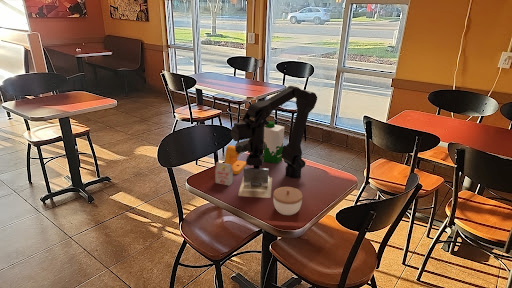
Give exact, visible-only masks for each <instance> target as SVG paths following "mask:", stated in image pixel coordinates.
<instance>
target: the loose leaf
mask: <svg viewBox="0 0 512 288" xmlns="http://www.w3.org/2000/svg"><path fill="white" fill-rule="evenodd" d="M243 176H244V182H251V183H250V186H262V183H268V176H269V168H265V167H263V168H262V167H261V168H260V167H259V168H254V167H247V166H246V167H244V169H243Z"/></svg>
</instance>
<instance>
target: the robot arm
mask: <svg viewBox="0 0 512 288" xmlns="http://www.w3.org/2000/svg"><path fill="white" fill-rule="evenodd" d="M292 99H295V106H296V110H297V111H296V114H295V118H294V123H293V126H292V131H291V134H290V138H289V142H288V143H287V144H286V145H284V144H283V150H282V153H281V154H282V161H283V162H284V163H285V164H286V165H285V173H284V174H285V177H289V178H290V179H298V178H302V169H303V168H305V166H306V163H307V162H306V161H305V160H304V159H303V158H302V156H303V150H302V147H301V145H302V141H303V137H304V133H305V130H306V129H305V128H306V125H307V121H308V119H309V115H310V113H311V112H312V110H313V109H314V108H315V106H316V103H317V101H318V96H317V94H316V93H315V92H313V91H309V90H306V89H302V88H300V87H298V86H295V85H289V86H287V87H286V88H284V89H283V90H281V91H279V92H278V93H276V94H274V95H272V96H271V97H269V98H268V99H265V100H260V101H255V102H253V103H251V104H249V105H248V107H247V109H246V110H247V111H246V112H245V114H244V115H243V118H242V119H241V122H234V123H233V126H232V127H231V130H230V136H231V138H232V140H233V142H236V144H235V145H234V146H235V149H236V150H235V151H236V152H237V153H238V154H239V155H240V154H242V153H245V152H247V153H249V154H248V155H247V157H246V159H245V162H246V165H247V166H253V168H260V167H261V166H264V165H263V164H264V162H263V159H264V149H265V148H266V143H265V142H264V139H265V137H264V128H265V126H266V125H268V124H269V122H268V120H267V119H268V118H269V116H271V115H272V112H273V111H275V110H277V108H279V107H281V106H283V105H285V104H286V103H288V102H289V101H291V100H292Z"/></svg>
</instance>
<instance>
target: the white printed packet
mask: <svg viewBox="0 0 512 288" xmlns="http://www.w3.org/2000/svg"><path fill="white" fill-rule="evenodd" d="M214 183H215V184H221V185H225V186H231V185H232V183H234V174H233V170H232V167H231V164H225V162H224V163H223V162H218V161H217V162H216V163H215V169H214Z"/></svg>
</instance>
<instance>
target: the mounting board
mask: <svg viewBox="0 0 512 288" xmlns="http://www.w3.org/2000/svg"><path fill="white" fill-rule="evenodd" d="M272 183H273V177H269V182H268V187H262V186H244V175H243V176H242V179H241V183H240V186H239V190H238V193H237V196H238V197H248V198H249V197H250V198H264V199H265V198H270V199H271V197H272V187H273V184H272Z"/></svg>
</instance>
